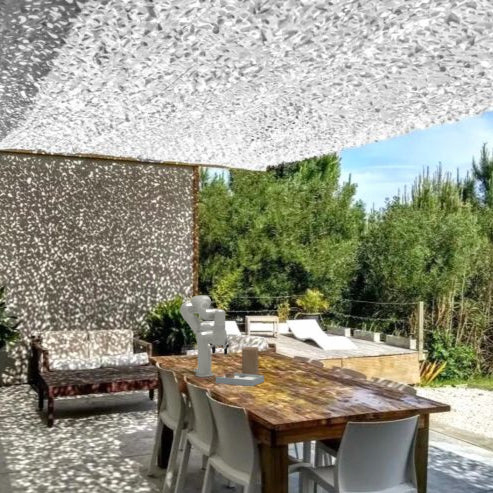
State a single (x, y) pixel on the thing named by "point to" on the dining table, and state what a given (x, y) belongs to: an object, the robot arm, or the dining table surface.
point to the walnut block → (229, 375)
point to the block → (250, 360)
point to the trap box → (241, 379)
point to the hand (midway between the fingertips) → (219, 353)
